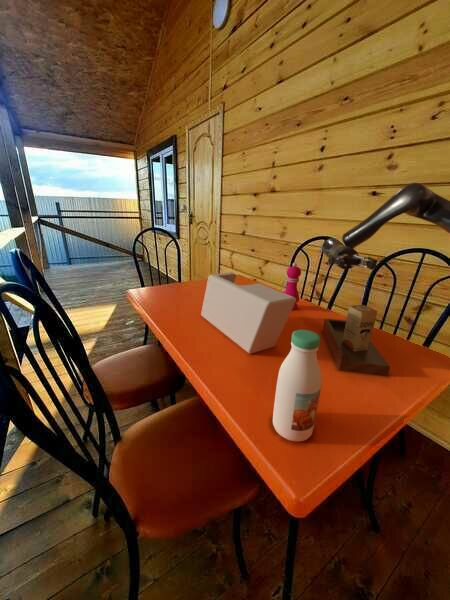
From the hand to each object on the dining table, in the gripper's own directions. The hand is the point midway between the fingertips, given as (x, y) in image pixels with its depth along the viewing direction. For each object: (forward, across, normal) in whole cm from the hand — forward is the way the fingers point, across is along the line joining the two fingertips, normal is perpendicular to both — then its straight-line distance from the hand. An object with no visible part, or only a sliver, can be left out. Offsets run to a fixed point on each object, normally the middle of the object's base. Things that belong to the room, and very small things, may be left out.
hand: (358, 265), depth 78 cm
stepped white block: (+5, -35, +25) cm, 43 cm away
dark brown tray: (+8, 0, +25) cm, 26 cm away
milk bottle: (+42, -20, +25) cm, 53 cm away
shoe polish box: (+11, 0, +22) cm, 25 cm away
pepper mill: (-26, -16, +25) cm, 40 cm away
